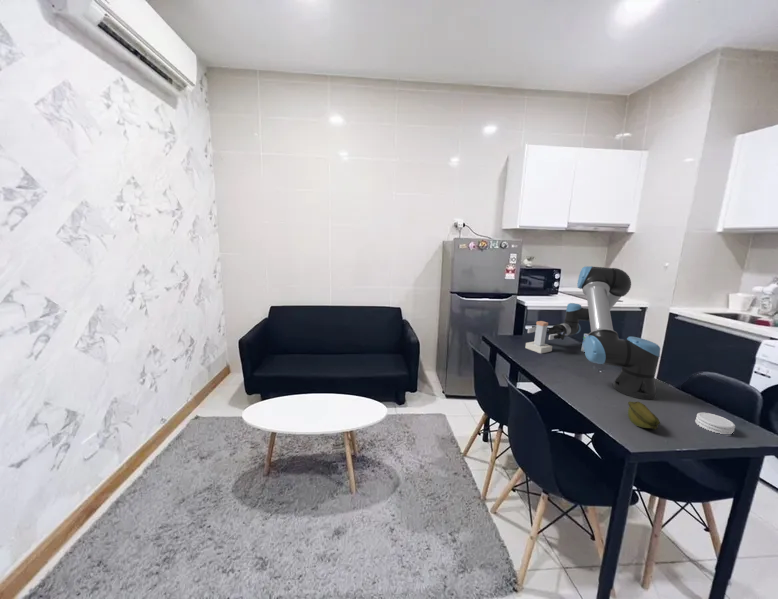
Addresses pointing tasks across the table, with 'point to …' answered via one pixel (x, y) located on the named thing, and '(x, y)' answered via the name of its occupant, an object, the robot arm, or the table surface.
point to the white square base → (538, 347)
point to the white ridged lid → (715, 423)
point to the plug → (540, 333)
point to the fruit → (642, 416)
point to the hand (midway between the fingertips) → (538, 334)
